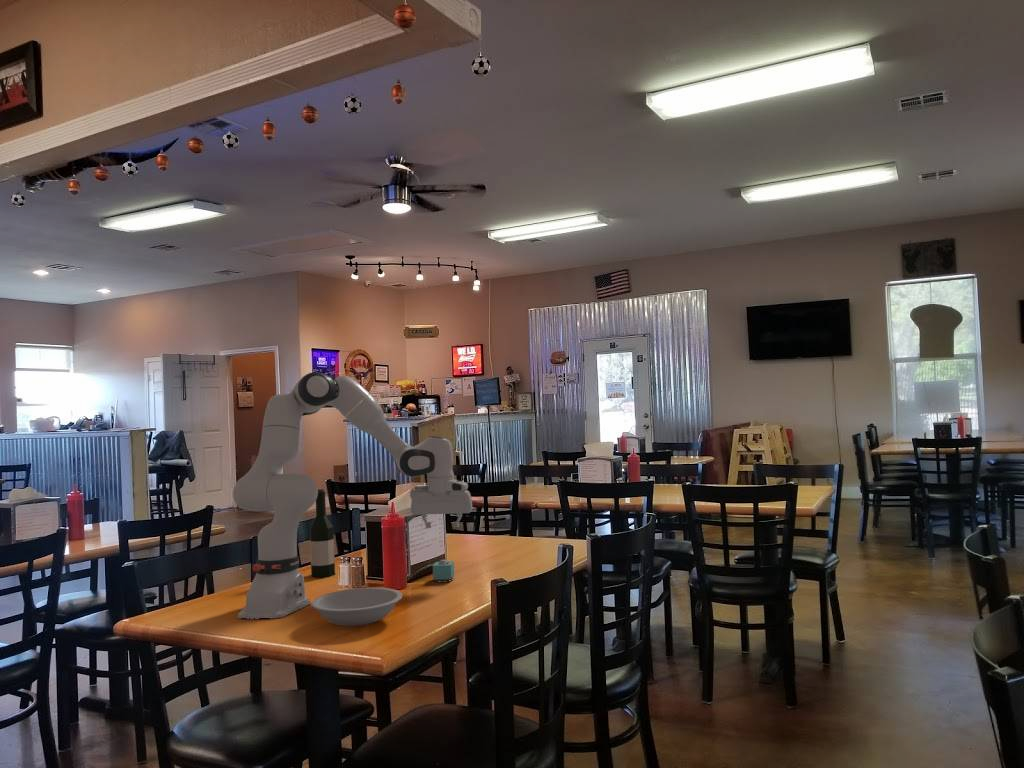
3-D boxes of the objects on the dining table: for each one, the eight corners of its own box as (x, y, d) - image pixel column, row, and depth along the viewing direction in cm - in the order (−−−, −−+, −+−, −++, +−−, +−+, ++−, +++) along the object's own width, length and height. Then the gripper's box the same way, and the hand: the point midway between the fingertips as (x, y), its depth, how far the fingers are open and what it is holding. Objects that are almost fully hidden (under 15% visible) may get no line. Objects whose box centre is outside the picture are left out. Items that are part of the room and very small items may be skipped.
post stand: (451, 582, 245) (450, 562, 245) (433, 582, 245) (432, 562, 245) (454, 577, 250) (453, 558, 251) (436, 578, 251) (435, 558, 251)
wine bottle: (331, 577, 259) (328, 490, 260) (307, 578, 259) (304, 491, 260) (338, 572, 268) (334, 487, 268) (314, 573, 268) (311, 488, 269)
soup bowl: (364, 606, 219) (363, 583, 219) (421, 618, 204) (420, 593, 204) (293, 627, 201) (292, 602, 201) (351, 642, 185) (350, 615, 186)
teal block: (451, 579, 244) (450, 565, 245) (433, 579, 245) (432, 565, 245) (454, 574, 250) (453, 561, 251) (436, 575, 251) (435, 561, 251)
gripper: (407, 487, 246) (409, 529, 245) (469, 485, 244) (471, 528, 243) (412, 485, 252) (413, 527, 252) (472, 483, 250) (474, 525, 250)
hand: (442, 527), depth 247 cm, fingers open, 8 cm apart
